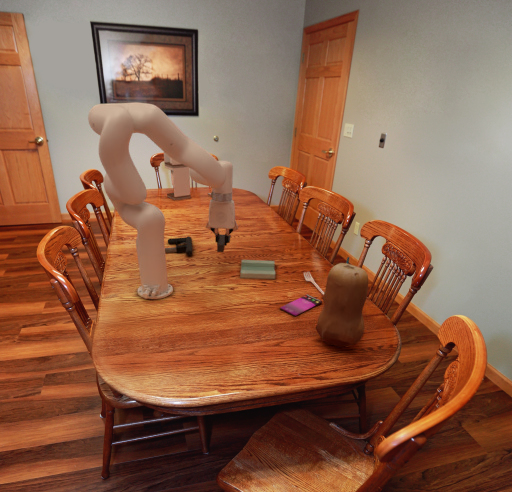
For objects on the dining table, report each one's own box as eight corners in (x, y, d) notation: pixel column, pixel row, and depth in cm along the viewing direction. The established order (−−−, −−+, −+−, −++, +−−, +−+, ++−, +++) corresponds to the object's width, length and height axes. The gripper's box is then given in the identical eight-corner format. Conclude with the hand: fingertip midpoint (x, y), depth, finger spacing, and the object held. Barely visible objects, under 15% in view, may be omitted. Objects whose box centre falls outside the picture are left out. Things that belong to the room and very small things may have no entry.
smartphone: (322, 303, 143) (322, 301, 143) (294, 316, 134) (295, 314, 134) (306, 296, 148) (307, 294, 147) (279, 308, 139) (279, 306, 138)
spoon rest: (275, 279, 160) (275, 274, 158) (240, 278, 159) (240, 272, 158) (274, 265, 171) (274, 260, 170) (241, 264, 171) (241, 259, 170)
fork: (321, 298, 147) (322, 293, 146) (302, 276, 163) (302, 271, 162) (329, 297, 148) (330, 292, 147) (309, 275, 164) (310, 271, 163)
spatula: (227, 252, 152) (227, 245, 151) (213, 251, 152) (212, 244, 151) (230, 237, 168) (230, 230, 166) (217, 236, 167) (217, 229, 166)
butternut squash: (354, 332, 128) (369, 258, 114) (365, 356, 117) (383, 277, 103) (311, 331, 127) (321, 257, 114) (318, 355, 116) (330, 276, 102)
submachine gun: (157, 252, 172) (194, 250, 174) (159, 237, 189) (193, 235, 191) (158, 260, 174) (195, 257, 176) (160, 244, 191) (194, 241, 193)
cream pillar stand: (182, 194, 269) (178, 137, 250) (190, 198, 262) (187, 139, 243) (167, 196, 263) (162, 137, 244) (175, 200, 256) (171, 139, 237)
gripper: (199, 198, 146) (200, 246, 156) (243, 200, 146) (241, 248, 156) (201, 193, 152) (203, 240, 162) (243, 195, 152) (242, 242, 162)
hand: (222, 244), depth 159 cm, fingers closed on spatula, 2 cm apart
